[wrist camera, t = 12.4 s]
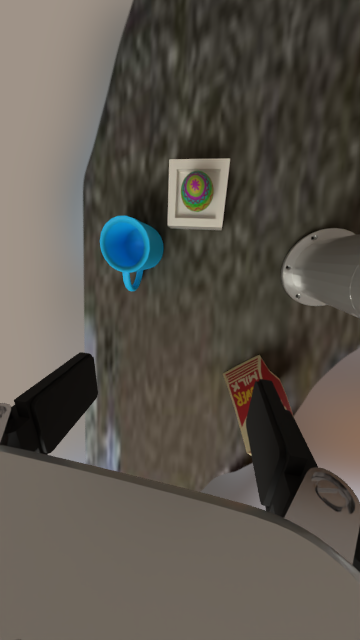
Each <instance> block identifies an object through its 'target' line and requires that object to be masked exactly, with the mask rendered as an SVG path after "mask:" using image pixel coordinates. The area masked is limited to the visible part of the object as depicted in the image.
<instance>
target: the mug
mask: <svg viewBox="0 0 360 640" xmlns="http://www.w3.org/2000/svg"><path fill="white" fill-rule="evenodd" d="M100 246H101V251H102V254H103V256H104V258H105V260H106V261H107V262H108V264H109V265H110V266H112V267H113V268H114V269H116V270H118V271H121V272H123V280H124V284H125V286H126V288H127V289H128V290H129V291H135V290H136V289H138V287H139V285H140V282H141V279H142V275H143V270H146V269H149V268H152V267H154V266H155V265H157V264H158V263H159V261H160V260H161V258H162V255H163V241H162V238H161V236H160V235H159V233H158V232H157V231H156V230H155V229H154V228H152V227H151V226H149V225H147V224H145V223H143V222H140V221H138V220H136V219H134V218H131V217H128V216H116V217H114V218H112V219H110V220H109V221H108V222H107V223H106V224H105V225H104V228H103V230H102V232H101V237H100ZM136 271H137V274H136V278H135V281H134V283H133V285H132V284H131V281H130V272H136Z"/></svg>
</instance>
